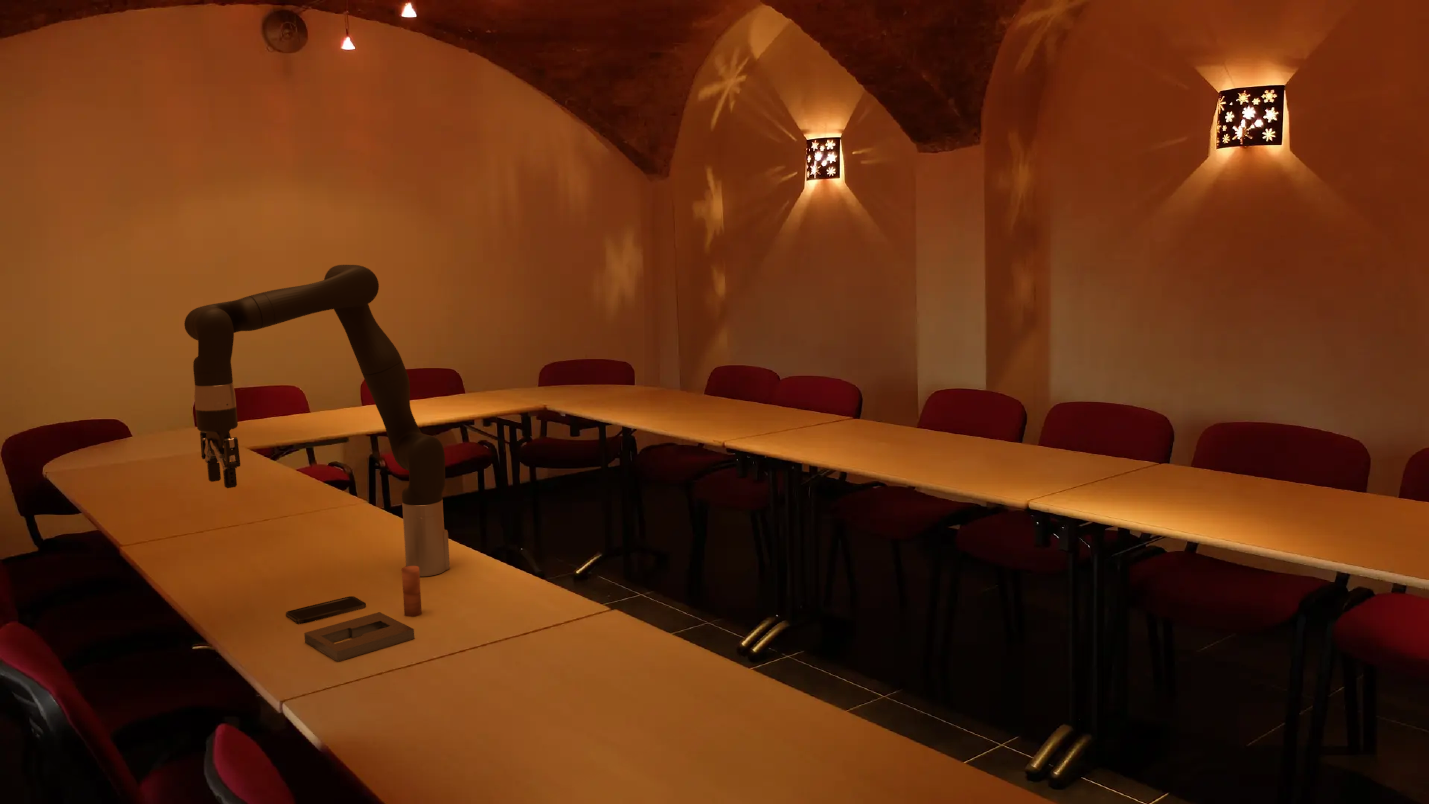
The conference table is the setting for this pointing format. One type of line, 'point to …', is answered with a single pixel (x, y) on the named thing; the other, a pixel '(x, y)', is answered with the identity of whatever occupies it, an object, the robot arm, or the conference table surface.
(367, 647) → the keyhole plate
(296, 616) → the phone
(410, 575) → the peg
